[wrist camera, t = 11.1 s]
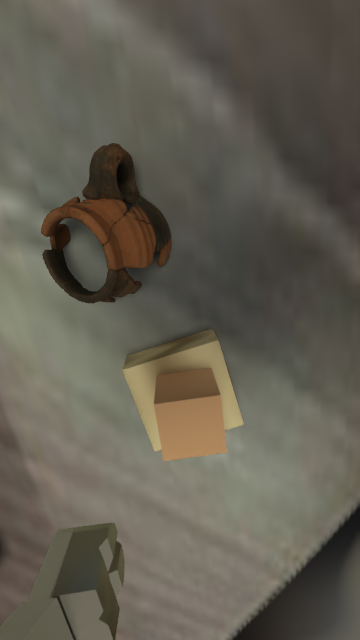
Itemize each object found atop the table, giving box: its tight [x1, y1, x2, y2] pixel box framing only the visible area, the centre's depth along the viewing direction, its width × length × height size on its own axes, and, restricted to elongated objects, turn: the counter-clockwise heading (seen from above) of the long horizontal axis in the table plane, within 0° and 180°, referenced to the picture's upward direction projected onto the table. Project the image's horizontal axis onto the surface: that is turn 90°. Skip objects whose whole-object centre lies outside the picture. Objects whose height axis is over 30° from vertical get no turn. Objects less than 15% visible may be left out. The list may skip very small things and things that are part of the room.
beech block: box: [122, 329, 244, 451], centre depth 29 cm, size 9×9×4 cm
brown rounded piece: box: [41, 143, 171, 303], centre depth 24 cm, size 12×10×8 cm
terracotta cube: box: [154, 368, 227, 461], centre depth 25 cm, size 5×5×5 cm
